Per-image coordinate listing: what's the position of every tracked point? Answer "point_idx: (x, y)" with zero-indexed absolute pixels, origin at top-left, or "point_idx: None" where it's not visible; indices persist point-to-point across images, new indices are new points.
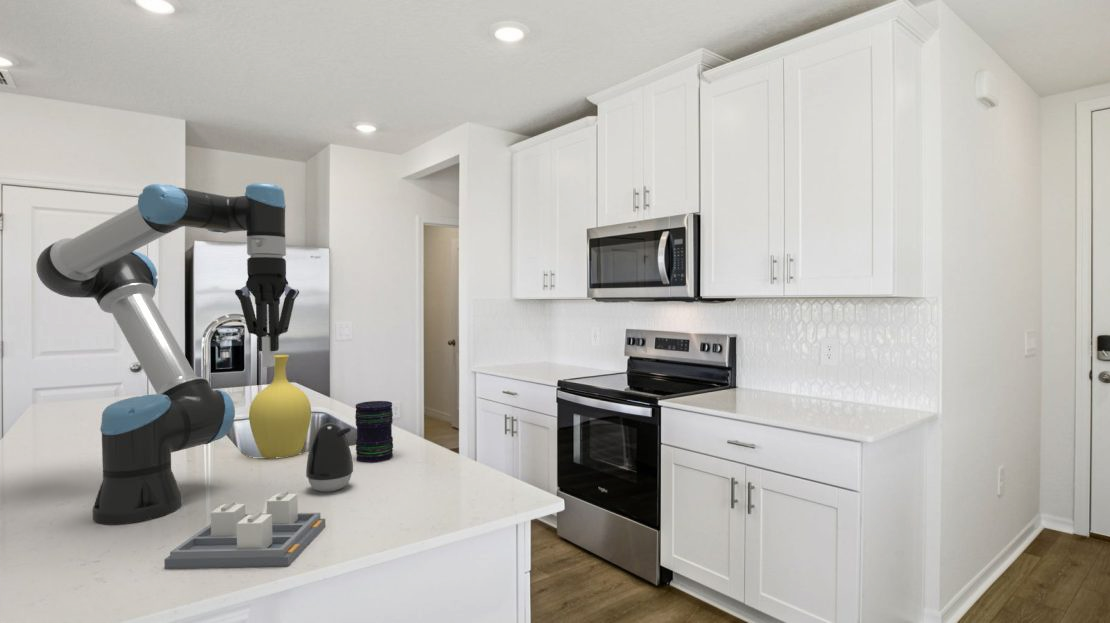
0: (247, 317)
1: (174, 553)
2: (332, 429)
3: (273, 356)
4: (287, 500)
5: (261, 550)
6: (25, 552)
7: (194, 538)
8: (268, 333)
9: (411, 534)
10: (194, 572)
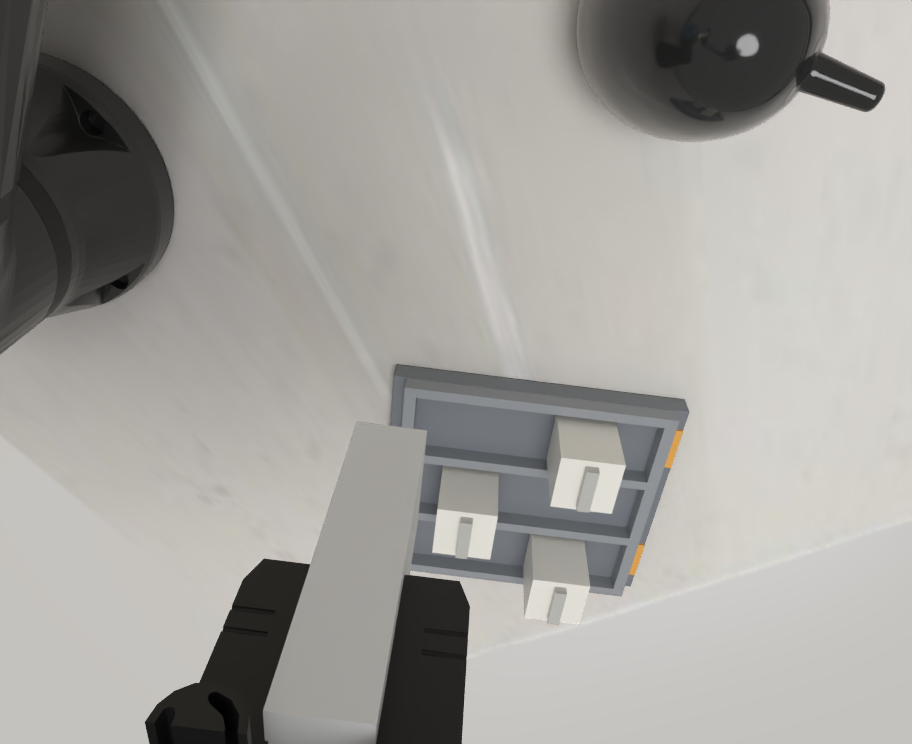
0: None
1: None
2: (771, 106)
3: (413, 523)
4: (607, 510)
5: None
6: (18, 425)
7: None
8: (249, 733)
9: (906, 481)
10: None
